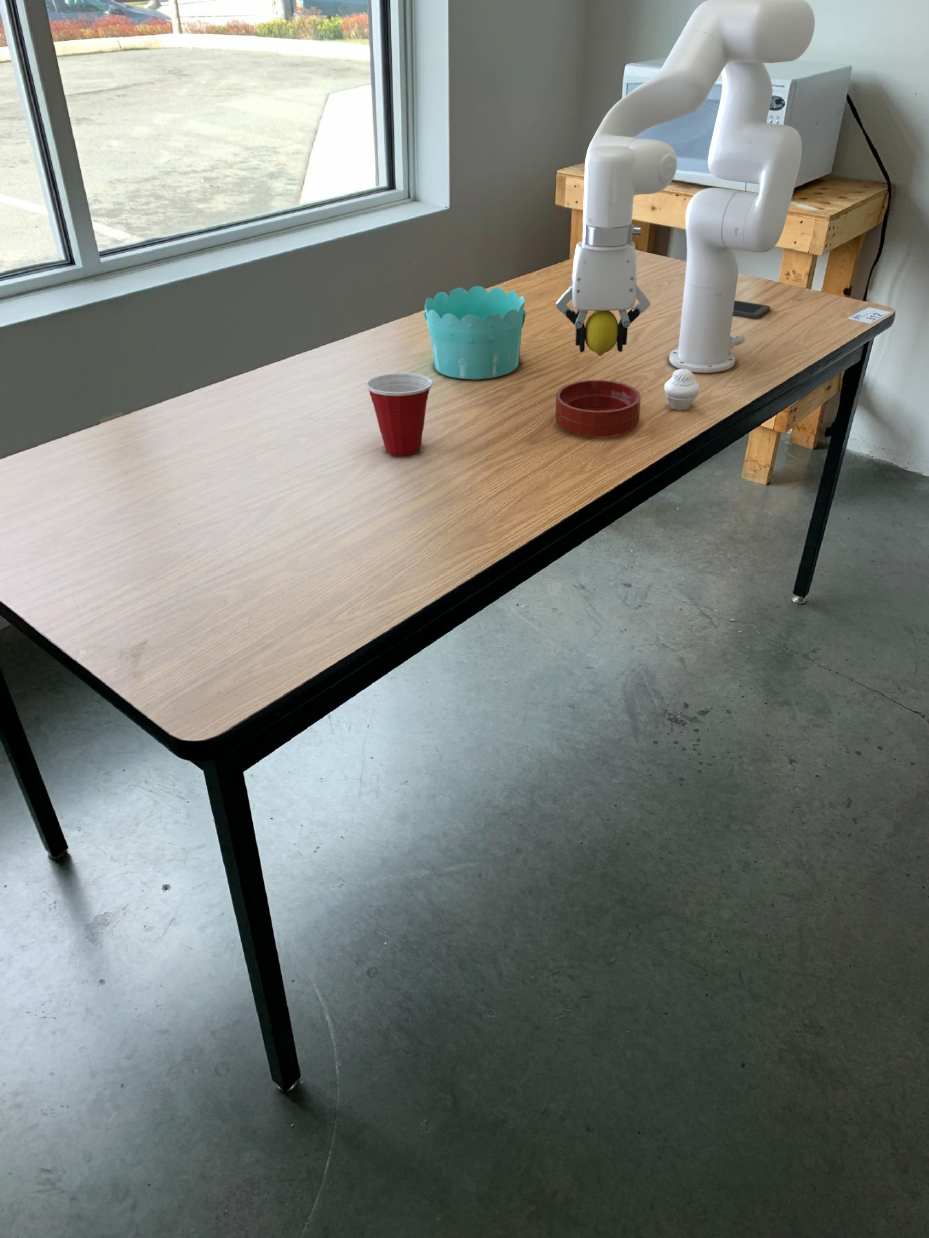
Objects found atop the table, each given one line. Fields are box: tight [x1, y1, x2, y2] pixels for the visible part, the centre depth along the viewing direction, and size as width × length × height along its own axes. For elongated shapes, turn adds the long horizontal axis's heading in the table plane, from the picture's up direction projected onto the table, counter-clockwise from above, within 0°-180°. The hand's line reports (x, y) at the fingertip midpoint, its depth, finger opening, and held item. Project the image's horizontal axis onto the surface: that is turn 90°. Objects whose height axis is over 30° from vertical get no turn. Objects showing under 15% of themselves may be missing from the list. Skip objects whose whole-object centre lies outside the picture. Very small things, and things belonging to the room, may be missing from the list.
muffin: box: [663, 368, 700, 411], centre depth 171 cm, size 6×6×7 cm
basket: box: [423, 285, 527, 381], centre depth 189 cm, size 19×18×13 cm
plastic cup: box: [364, 372, 434, 458], centre depth 158 cm, size 11×11×12 cm
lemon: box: [585, 311, 619, 357], centre depth 159 cm, size 6×6×8 cm
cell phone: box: [733, 299, 771, 319], centre depth 215 cm, size 7×14×1 cm, turn 55°
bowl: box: [555, 379, 642, 438], centre depth 167 cm, size 14×14×5 cm
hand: (600, 348), depth 161 cm, fingers closed on lemon, 5 cm apart
